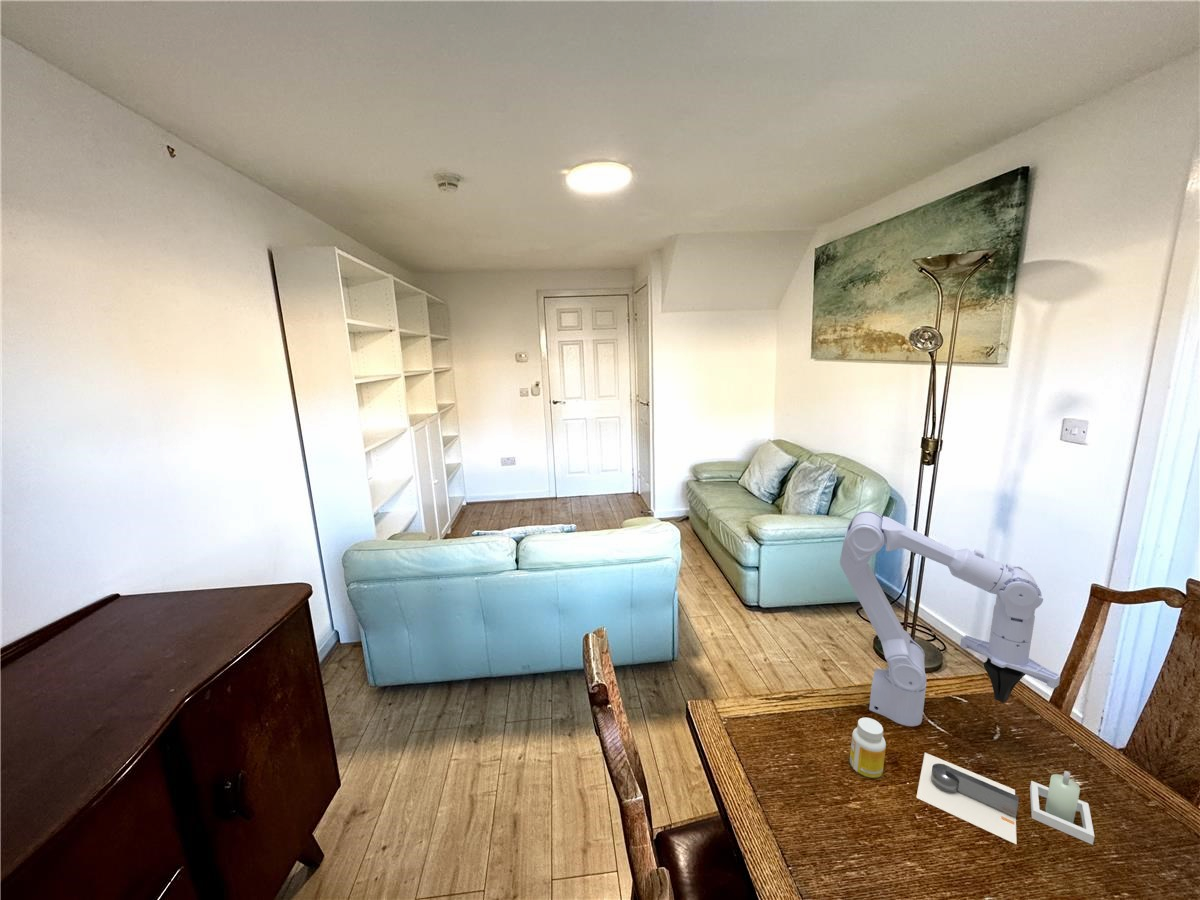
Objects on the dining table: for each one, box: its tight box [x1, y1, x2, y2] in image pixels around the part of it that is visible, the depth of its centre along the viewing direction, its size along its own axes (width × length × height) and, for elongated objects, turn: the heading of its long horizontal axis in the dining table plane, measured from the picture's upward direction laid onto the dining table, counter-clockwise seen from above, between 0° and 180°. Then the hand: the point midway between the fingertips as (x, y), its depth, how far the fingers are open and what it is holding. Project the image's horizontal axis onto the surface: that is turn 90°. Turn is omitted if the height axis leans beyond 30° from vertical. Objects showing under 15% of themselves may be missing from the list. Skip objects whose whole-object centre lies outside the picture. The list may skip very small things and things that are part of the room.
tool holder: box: [1029, 780, 1096, 846], centre depth 79 cm, size 7×7×2 cm
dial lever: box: [931, 764, 1020, 818], centre depth 82 cm, size 12×4×3 cm, turn 50°
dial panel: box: [915, 752, 1017, 845], centre depth 83 cm, size 13×12×1 cm
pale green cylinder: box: [1044, 770, 1081, 824], centre depth 78 cm, size 3×3×9 cm
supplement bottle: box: [849, 717, 887, 779], centre depth 88 cm, size 5×5×10 cm
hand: (1001, 699), depth 91 cm, fingers closed
